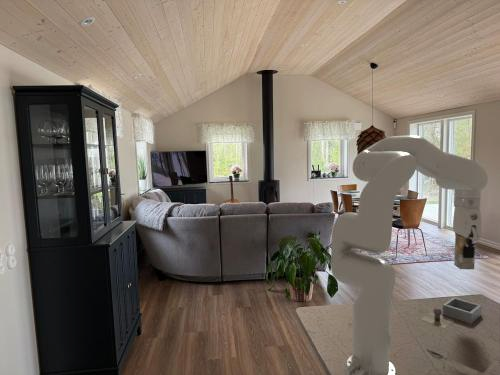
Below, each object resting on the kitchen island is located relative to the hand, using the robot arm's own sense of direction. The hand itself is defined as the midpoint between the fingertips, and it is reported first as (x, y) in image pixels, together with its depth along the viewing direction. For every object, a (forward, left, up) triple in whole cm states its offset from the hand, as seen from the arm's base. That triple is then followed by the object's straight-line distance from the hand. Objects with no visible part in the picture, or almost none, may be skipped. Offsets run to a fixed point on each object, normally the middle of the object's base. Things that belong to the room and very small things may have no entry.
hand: (464, 254), depth 121 cm
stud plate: (-10, +4, -23) cm, 25 cm away
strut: (0, 0, -4) cm, 4 cm away
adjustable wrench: (-22, +5, -24) cm, 33 cm away
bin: (0, 0, -23) cm, 23 cm away
